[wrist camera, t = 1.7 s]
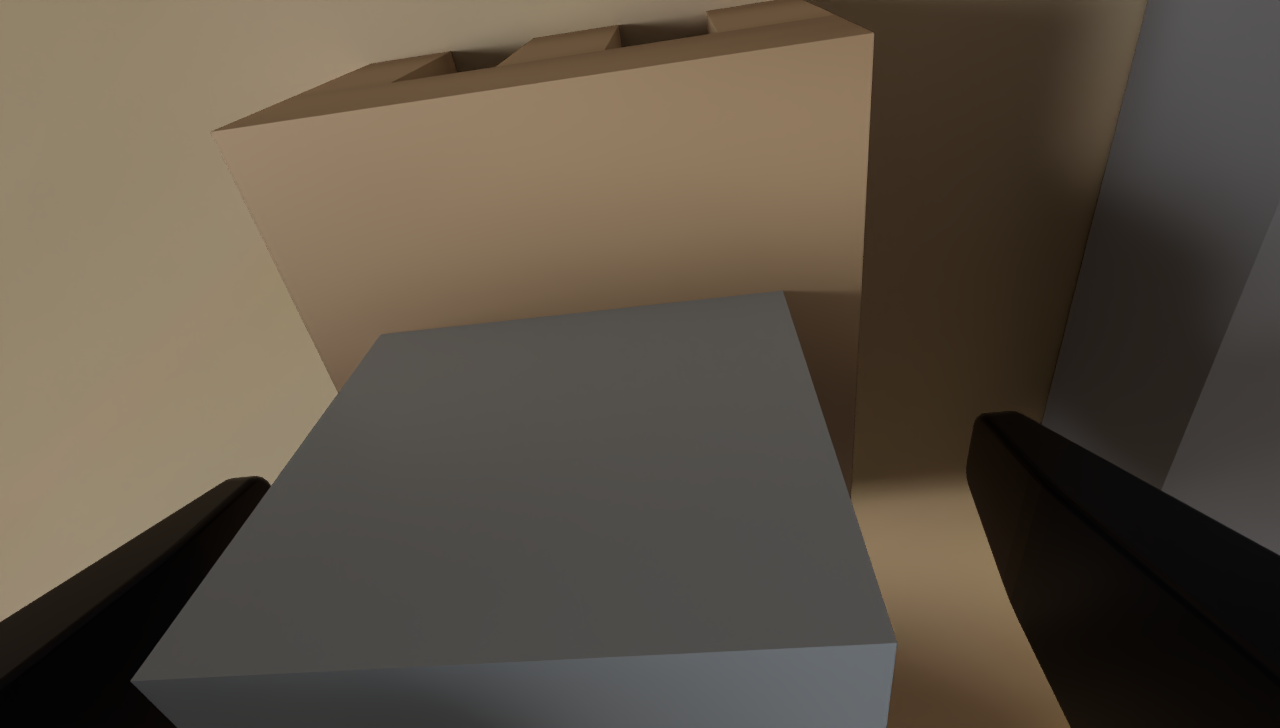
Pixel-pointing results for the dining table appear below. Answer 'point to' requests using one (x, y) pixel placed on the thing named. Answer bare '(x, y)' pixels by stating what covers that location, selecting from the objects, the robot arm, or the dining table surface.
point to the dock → (1187, 271)
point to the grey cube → (550, 542)
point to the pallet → (578, 186)
